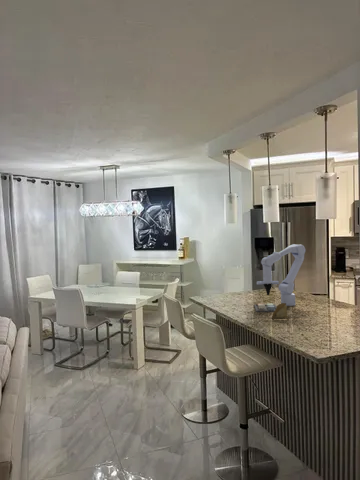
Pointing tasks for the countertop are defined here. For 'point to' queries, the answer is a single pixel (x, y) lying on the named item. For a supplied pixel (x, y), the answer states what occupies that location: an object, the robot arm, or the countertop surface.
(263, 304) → the key cream
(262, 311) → the dark grey tray
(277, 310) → the rock
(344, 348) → the countertop surface
